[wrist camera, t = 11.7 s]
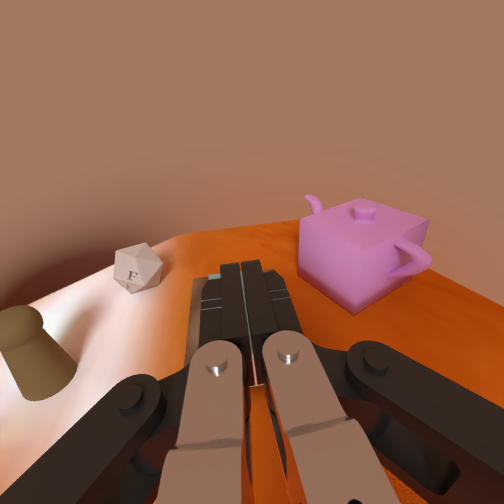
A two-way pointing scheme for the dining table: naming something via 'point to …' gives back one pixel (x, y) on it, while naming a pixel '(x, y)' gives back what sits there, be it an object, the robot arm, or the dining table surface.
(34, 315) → the cork
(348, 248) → the teapot
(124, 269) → the die
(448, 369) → the dining table surface
